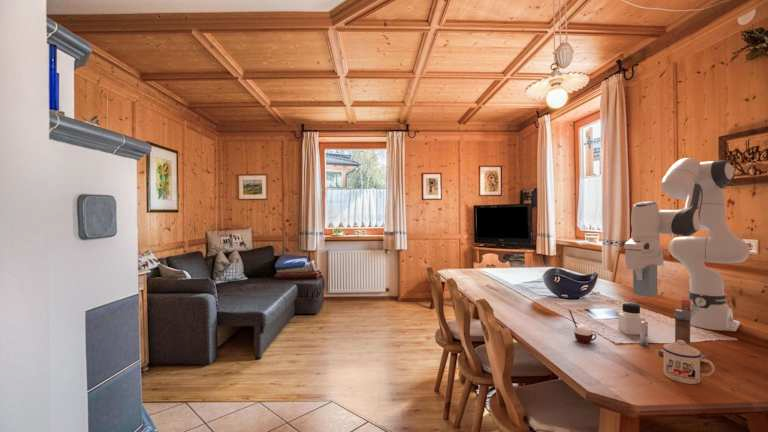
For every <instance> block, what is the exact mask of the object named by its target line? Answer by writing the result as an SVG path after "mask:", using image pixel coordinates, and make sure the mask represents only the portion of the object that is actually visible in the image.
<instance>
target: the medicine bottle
mask: <svg viewBox="0 0 768 432" xmlns="http://www.w3.org/2000/svg"><path fill="white" fill-rule="evenodd" d="M617 317H618V318H617V319H618V321H617V328H618V329H619V330H620V331H621V332H623V334H625V335H633V334H634V335H636V336H637V335H639V336H640V321H646V318H645V317H643V316H642V315H641V305H639V304H638V303H634V302H623V303H622V312H618V313H617Z"/></svg>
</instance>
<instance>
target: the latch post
mask: <svg viewBox="0 0 768 432" xmlns="http://www.w3.org/2000/svg"><path fill="white" fill-rule="evenodd" d="M674 335H675V336H674V342H677V340H683V341H685V342H686V344H688V345H689V346H691V325H690V321H681V320H677V319H675V318H674ZM700 353H701V352H700ZM658 356H661V357H664V349H663V348H662V349H660V350H658ZM700 358H702V359H706V360H708V354H705V353H704V354H703V353H701V357H700ZM701 363H703V362H702V361H700V364H701Z"/></svg>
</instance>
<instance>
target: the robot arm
mask: <svg viewBox="0 0 768 432" xmlns="http://www.w3.org/2000/svg"><path fill="white" fill-rule="evenodd" d="M734 172H735V171H734V168H733V165H732V164H731V163H730V162H729V161H728V160H725V159H717V160H712V161H711V160H710V161H701V162H699V161H698V160H696V159H694V158H691V157H684V158H681V159H678V160H677V161H675V163H673V164H672V165H671V166H670V168H669V169H668V170H667V172H666V174H664V176H663V178H662V180H661V184H660V185H661V187H660V188H661V190H662V191H663V193H664V194H666V195H667V196H668V197H670V198H672V199H677V200H683V201H685V203H684V207H683V208H679V209H659V204H658V202H656V201H651V200H648V201H647V200H645V201H638V202H636V203H634V204H632V205H633V206H632V210H631V214H630V215H631V217H630V221H631V222H630V225H631V229H632V230H631V233H630V239H629V240H627V241H626V242H625V243H624V245H623V247H624V249H626V250H625V253H624V255H625V256H624V258H625V259H624V260H625V261H624V262H625V267H626V269H628V270H632V271H633V270H635V273H636V275H637V280H644V276H643V274H642V271H643V269H644V268H646V267H647V266H649V265H657V267H660V266H663V264H664V252H663V248H662V247H661V245H660V243H661V241H660V237H661V235H673V236H675V235H676V236H677V237H676V236H675V237H674V238H672V239H671V240H670V242H669V244H668V252H669V253H670V255H671V256H672V257H673V258H674V259H676V260H678V261H679V262H680V263H681V264H682V265H683V266H684V268H685V269H686V271H687V274H688V278H689V279H688V280H689V290H688V294H687V295H688V296H687V297H688V298H689V299H692V305H698V306H699V311H698V312H697V313H696V314H695V315H694V316H693V317H691V321H690V326H694V327H696V328H701V329H707V330H712V331H727V332H737V330H738V328H739V327H740V325H741V322H740V321H739V320H737V319H736V320H735V319H734V316H733V315H734V312H733V310H732V309H731V307H729V305H728V304H727V299H728V294H727V293H725V278H724V276H723V275H722V274H721V273H719V272H717V271H716V270H713V269H711V268H709V267H707V266H706V264H705V263H718V264H719V263H720V264H738V263H743V262H745V261H746V260H747V259H748V258H749V256H750V254H751V252H750V251H751V249H750V246H749V244H747V242H746V241H745V240H743V239H741V238H740V237H737V235H736V234H734V233H733V232H732V231H731V229H730V228H729V226H728V224H727V219H726V217H727V215H726V196H725V195H726V194H725V191H724V189H725V188H726V187H727V185H728V184H729V183H730V182H731V181H732V180H733V177H734ZM700 229H701V230H703V231H705V232H707V233H708V234H709V236H692V235H694V234H696V233H697V232H698V231H699V230H700Z"/></svg>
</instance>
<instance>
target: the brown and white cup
mask: <svg viewBox="0 0 768 432" xmlns="http://www.w3.org/2000/svg"><path fill="white" fill-rule="evenodd" d="M568 312H569V314H570V317H571V319H572V321H573V324H574V329H573V330H574V332H573V333H574V337H575V339H576V341H577V342H579V343H582V344H589V343H591V342H593V341H595V340H596V338H597V337H598V336H597V335H596V333H593V330H592V329H591V328H590V327H589V326H588V325H586V324H584V323H576V320H575V318H574V316H573V313H572V311H571V309H568ZM593 336H595V337H594V338H593Z"/></svg>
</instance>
